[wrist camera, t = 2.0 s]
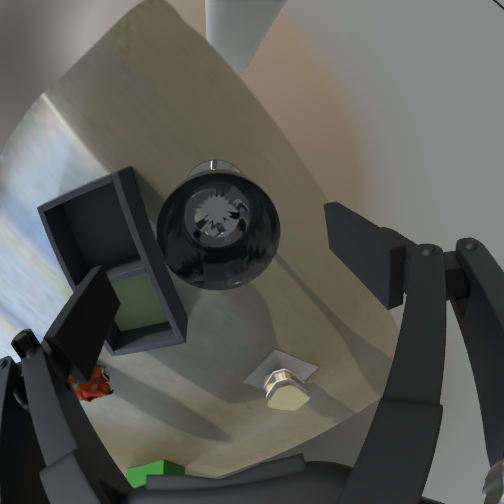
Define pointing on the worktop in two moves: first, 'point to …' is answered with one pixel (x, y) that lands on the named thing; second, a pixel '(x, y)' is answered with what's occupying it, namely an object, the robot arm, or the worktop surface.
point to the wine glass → (218, 228)
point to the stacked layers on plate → (282, 380)
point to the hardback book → (151, 471)
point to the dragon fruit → (92, 386)
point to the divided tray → (117, 259)
